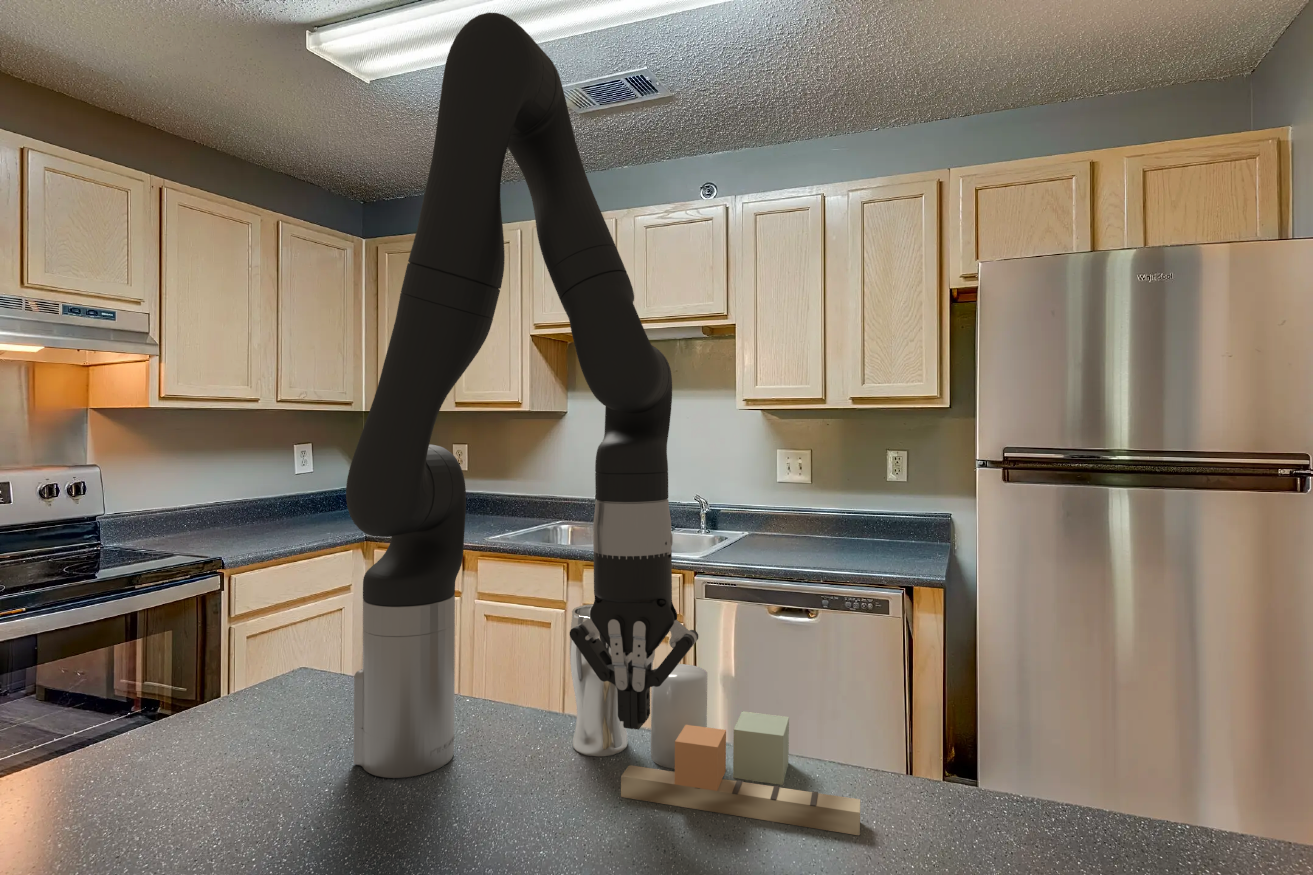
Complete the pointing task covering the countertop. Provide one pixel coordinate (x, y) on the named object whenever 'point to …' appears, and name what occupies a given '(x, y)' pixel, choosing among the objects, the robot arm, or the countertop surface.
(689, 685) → the grey rounded cylinder
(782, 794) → the rail
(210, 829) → the countertop surface
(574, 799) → the countertop surface
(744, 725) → the sage block
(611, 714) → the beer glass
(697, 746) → the block
